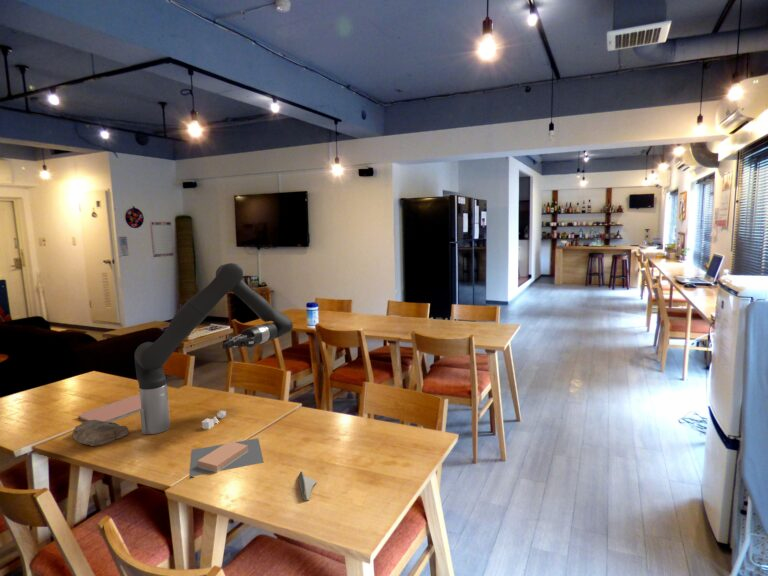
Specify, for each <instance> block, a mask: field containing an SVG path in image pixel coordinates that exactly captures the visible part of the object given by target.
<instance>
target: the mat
mask: <svg viewBox="0 0 768 576" xmlns="http://www.w3.org/2000/svg"><path fill="white" fill-rule="evenodd" d="M235 443H239V444H244V445H248V452H247V453H245V454H244V455H242V456H241V457H239V458H238V459H237V460H235V461H234V462H232V463H231V464H229V465H228V466H226V467H225V468H223V469H222V470H220V471H219V472H222V471H226V470H227V471H228V470H232V469H237V468H243V467H247V466H253V465H258V464H259V465H260V464H263V463H264V457H263V454H262V453H263V452H262V449H261V444H260V440H259V438H258V437H257V438H252V439H246V440H245V439H244V440H240V441H235ZM224 444H225V443H223V444H217V445H211V446H206V447H200V448H194V449H191V452H190V453H191V454H190V464H189V465H190V466H189V477H188V478H189V479H194V478H196V476H200V475H207V474H212V473H215V472H214V471H210V470H206V469H203V468H199V467H198V460H199V459H201V458H203V457H204V456H206V455H208V454H209V453H211V452H212V451H214V450H216V449H217V448H219V447H221V446H222V445H224Z"/></svg>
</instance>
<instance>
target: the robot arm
mask: <svg viewBox="0 0 768 576" xmlns="http://www.w3.org/2000/svg"><path fill="white" fill-rule="evenodd" d="M243 276H244V270H243V268H242V266H241V265H239V264H237V263H234V262H229V263H225V264H222V265H220V266H218V268H217V269H216V271H215V277H214V278H213V280H211V282H210V283H209V284H207V286H205V287H204V288H202V289H201V290H200V291H198V292H197V293H196V294H194V295H193V296H191V297H190V299H188V300H187V301H185V303H184V304H183V305H182V306H181V307H180V308H179V309H178V310H177V312H176V313H175V314H174V316H173V318H172V319H171V321H170V323H169V324H168V326H167V328H166V330H165V331H164V332H163V333H162V334H161V336H159V337H158V338H157V339H156V340H155V341H154V342H151V341H146V342H144V343H141V344H139V346H137V348H136V349H135V351H134V365H135V366H134V369H135V374H136V380H137V383H138V389H139V390H138V391H139V395H140V401H141V409H140V412H139V413H140V422H141V433H142V435H145V434H146V435H154V434H155V435H156V434H160V433H164V432H165V431H168V430H169V429H170V428H171V419H170V416H171V415H170V405H169V396H168V395H169V394H168V385H167V383H168V382H167V377H166V373H165V371H164V367H163V366H164V364H165V363H166V362H167V361H168V360H169V359H170V357H171V355H173V353H175V350H176V349H177V348H178V347H179V346H180V345H181V343H182V342H184V340H185V339H187V338H188V336H189V335H191V333H192V332H193V331H194V330H195V329H196V328H197V327H198V326H200V325H201V323H202V322H203V321H204V320H205V319H206V318H207V317H208V315H209V314H210V313H211V312H213V310H214V308H216V307H217V305H218V304H219V302H220V301H221V300H222V299H223V298H224V297H225V296H226V295H227V294H228V293H229V292H232V293H233V294H234V295H235V296H237V297H238V298H239V299H240V300H241V301H242V302H243V303H244V304H245V305H247V307H248V308H249V309H251V310H252V312H253V313H254V314H256V315H257V316H258V318H259V319H261V321H263V322H265V323H263V324H262V323H261V324H259V325H255V326H251V327H248V328H247V327H246V328H245V329H243V330H242V331H241V334H237V335H236V336H232V335H228V336H227V338H226V342H223V343H222V349H224V350H228V349H231V348H245V347H247V348H252V347H255V346H258V345H261V344H263V343H266V342H268V341H270V340H275V339H278V338H280V337H283V336H284V335H286V334H288V333H289V332H291V331H292V330H293V328H294V324H293V321H292V319H291V318H290V317H289V316H287V315H286V314H284V313H283V312H281V311H279V310H277V309H276V308H274V307H273V306H272V304H270V303H269V301H267V299H265V298H264V297H263V296H262V295H260V294H259V293H258V292H257V291H255V290H254V289H252V288H251V287H250V286H249V285H248V284H247V283H246V282H245V281H244V280H243Z"/></svg>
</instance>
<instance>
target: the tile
mask: <svg viewBox="0 0 768 576" xmlns="http://www.w3.org/2000/svg"><path fill="white" fill-rule="evenodd" d="M235 442H236V441H235ZM235 442H234V441H230V440H229V441H227V442H225V443H223V444H224V445H222V444H221V445H222V446H221V447H219V448H217V449H216V450H214V451H212V452H211V453H209V454H208V455H206V456H204V457H203V458H201V459H199V460H198V467H199V468H203V469H206V470H210V471H214V472H213V473H219V472H221V471H220V470H222V469H223V468H225V467H226V466H228V465H229V464H231V463H232V462H234V461H235V460H237V459H238V458H239V457H241V456H242V455H244V454H245V453H247V452H248V445H244V444H239V443H235Z"/></svg>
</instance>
